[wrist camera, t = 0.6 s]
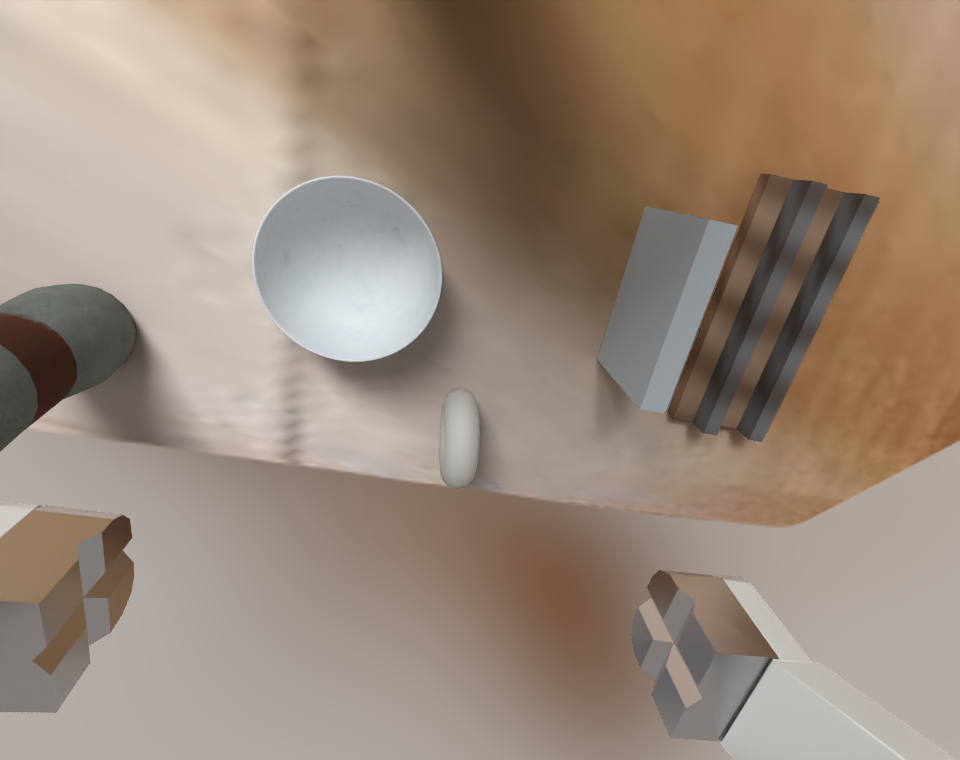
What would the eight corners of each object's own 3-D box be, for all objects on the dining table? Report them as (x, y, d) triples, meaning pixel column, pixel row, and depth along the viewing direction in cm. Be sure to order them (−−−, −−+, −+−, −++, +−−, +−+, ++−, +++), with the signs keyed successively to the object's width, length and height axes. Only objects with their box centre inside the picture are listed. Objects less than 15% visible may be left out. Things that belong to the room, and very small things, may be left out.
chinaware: (463, 300, 50) (469, 324, 43) (326, 355, 51) (310, 387, 44) (400, 146, 44) (395, 143, 37) (246, 211, 45) (212, 221, 38)
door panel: (645, 205, 48) (709, 219, 37) (673, 212, 49) (745, 227, 38) (596, 359, 54) (639, 409, 43) (622, 363, 55) (671, 414, 44)
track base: (761, 173, 48) (788, 175, 44) (867, 200, 50) (901, 203, 46) (667, 413, 58) (683, 430, 54) (759, 427, 60) (780, 444, 56)
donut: (467, 454, 57) (475, 510, 48) (437, 453, 57) (439, 509, 48) (475, 374, 53) (486, 418, 44) (443, 372, 53) (447, 416, 44)
